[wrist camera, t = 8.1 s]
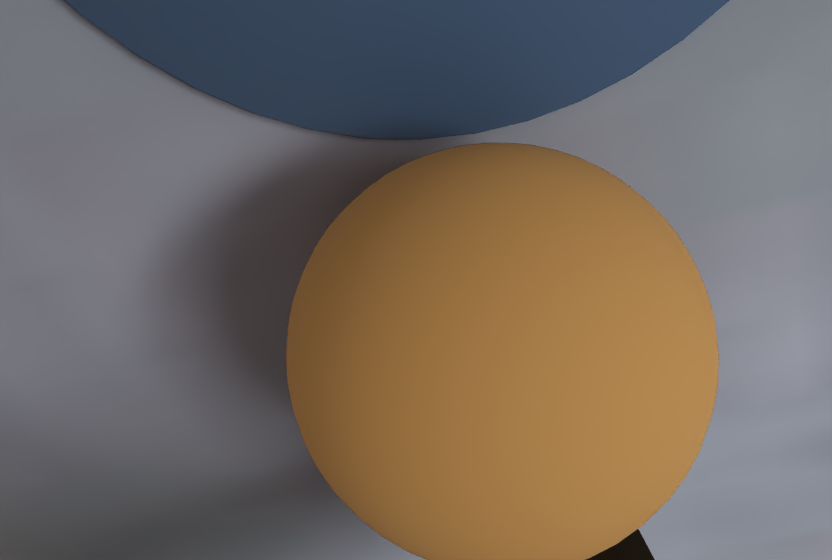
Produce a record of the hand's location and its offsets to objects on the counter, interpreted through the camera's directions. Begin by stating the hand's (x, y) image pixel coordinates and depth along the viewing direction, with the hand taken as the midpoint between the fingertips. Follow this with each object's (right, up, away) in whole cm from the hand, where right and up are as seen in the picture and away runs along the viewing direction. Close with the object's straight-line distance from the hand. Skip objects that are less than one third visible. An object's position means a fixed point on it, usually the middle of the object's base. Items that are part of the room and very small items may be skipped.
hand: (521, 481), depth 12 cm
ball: (-1, +3, -3) cm, 4 cm away
